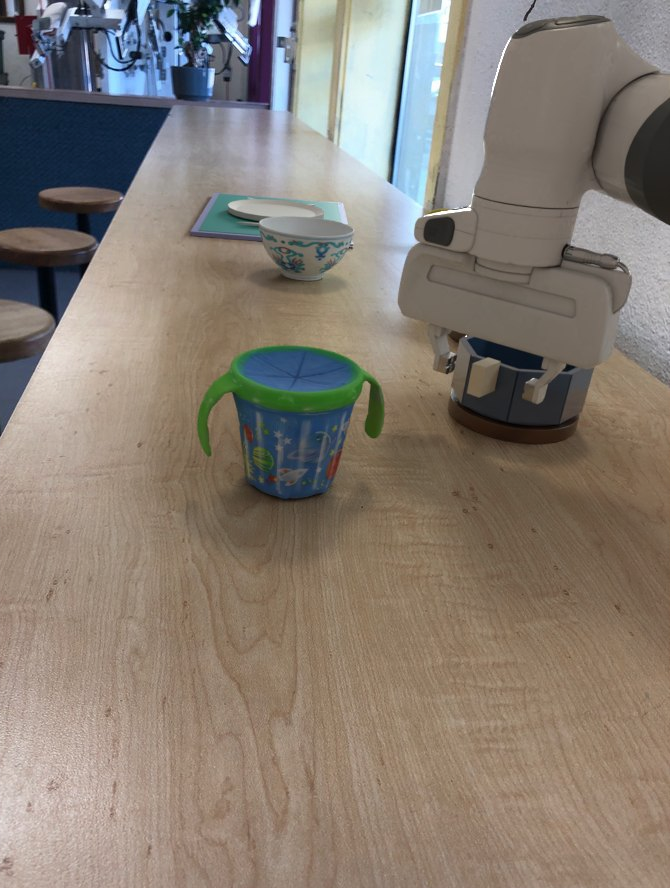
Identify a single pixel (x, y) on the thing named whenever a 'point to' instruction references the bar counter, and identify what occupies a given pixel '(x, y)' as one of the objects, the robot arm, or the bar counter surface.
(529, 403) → the slate bowl
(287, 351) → the snack cup
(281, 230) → the chinaware
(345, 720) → the bar counter surface
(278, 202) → the place mat
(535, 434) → the disc
